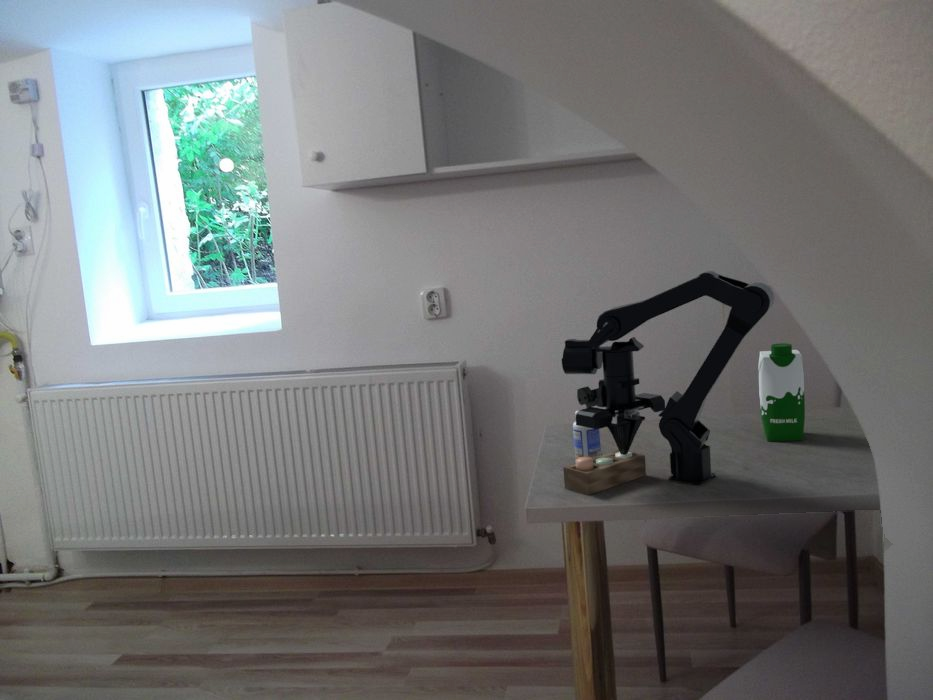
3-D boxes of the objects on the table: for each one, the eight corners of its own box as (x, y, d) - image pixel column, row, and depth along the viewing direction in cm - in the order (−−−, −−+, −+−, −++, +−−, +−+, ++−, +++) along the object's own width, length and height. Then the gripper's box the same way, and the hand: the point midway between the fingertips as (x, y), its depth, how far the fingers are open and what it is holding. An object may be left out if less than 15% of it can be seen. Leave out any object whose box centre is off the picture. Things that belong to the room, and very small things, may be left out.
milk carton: (763, 442, 175) (759, 347, 172) (759, 431, 183) (755, 341, 180) (808, 441, 172) (805, 345, 169) (802, 430, 181) (799, 338, 178)
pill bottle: (602, 452, 178) (599, 407, 176) (599, 460, 173) (596, 414, 171) (577, 453, 179) (573, 408, 178) (573, 460, 174) (570, 414, 173)
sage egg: (605, 467, 160) (604, 456, 160) (617, 470, 158) (616, 459, 158) (593, 471, 159) (592, 460, 158) (605, 474, 156) (604, 463, 156)
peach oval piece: (585, 467, 157) (584, 456, 157) (597, 470, 155) (596, 459, 154) (572, 471, 156) (571, 460, 155) (584, 474, 153) (583, 463, 153)
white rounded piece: (624, 461, 163) (623, 450, 163) (636, 464, 161) (635, 453, 160) (612, 465, 162) (611, 454, 161) (624, 468, 159) (623, 457, 159)
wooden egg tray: (621, 469, 165) (620, 449, 165) (646, 475, 160) (644, 454, 160) (564, 487, 157) (563, 467, 156) (588, 495, 152) (587, 473, 151)
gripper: (622, 362, 170) (627, 437, 173) (553, 378, 160) (559, 458, 162) (664, 367, 161) (669, 446, 164) (594, 384, 151) (599, 468, 153)
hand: (623, 454), depth 161 cm, fingers closed, pressing on white rounded piece
